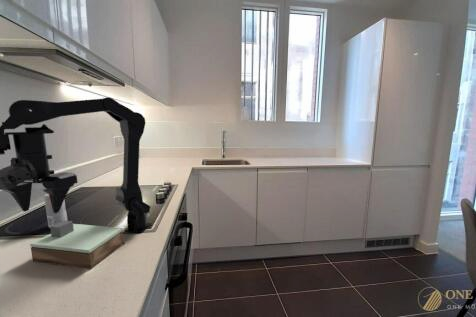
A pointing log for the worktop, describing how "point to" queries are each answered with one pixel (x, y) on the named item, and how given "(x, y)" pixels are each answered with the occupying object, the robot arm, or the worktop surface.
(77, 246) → the lid
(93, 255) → the tea box
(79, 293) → the worktop surface
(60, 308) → the worktop surface
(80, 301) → the worktop surface
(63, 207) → the energy drink
